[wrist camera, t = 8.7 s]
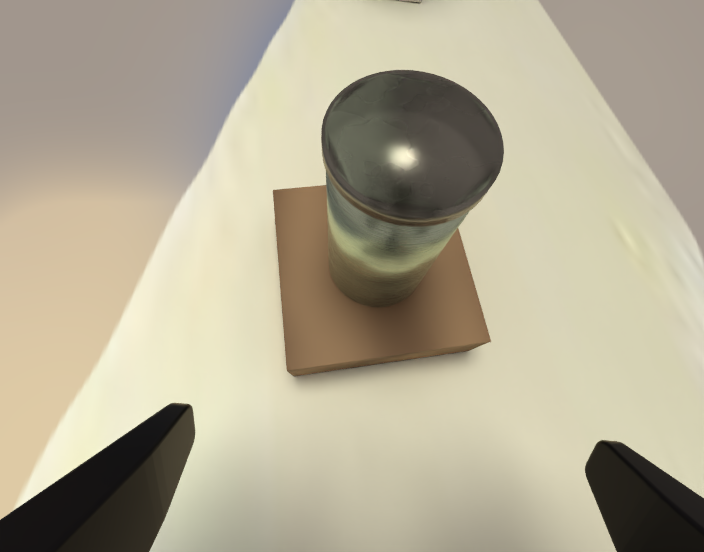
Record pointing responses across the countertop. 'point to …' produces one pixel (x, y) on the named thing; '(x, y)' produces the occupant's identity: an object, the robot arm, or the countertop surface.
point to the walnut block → (359, 320)
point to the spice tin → (401, 178)
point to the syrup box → (412, 0)
